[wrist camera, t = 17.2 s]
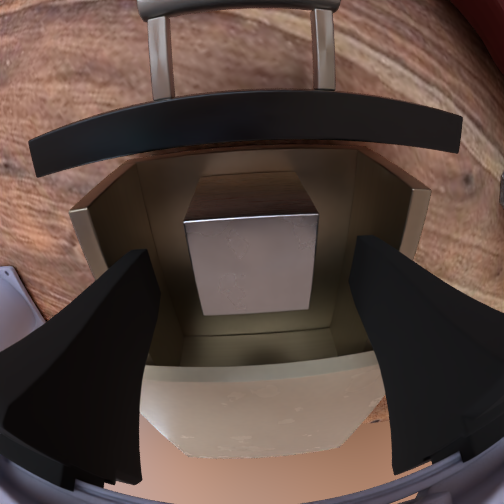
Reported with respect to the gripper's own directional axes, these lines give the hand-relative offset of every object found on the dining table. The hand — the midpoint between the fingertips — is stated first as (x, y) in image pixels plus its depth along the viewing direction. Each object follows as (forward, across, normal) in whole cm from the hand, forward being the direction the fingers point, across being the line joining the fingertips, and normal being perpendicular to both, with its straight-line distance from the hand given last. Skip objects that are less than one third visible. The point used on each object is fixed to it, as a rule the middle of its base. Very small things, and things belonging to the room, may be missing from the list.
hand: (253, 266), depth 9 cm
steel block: (+4, 0, 0) cm, 4 cm away
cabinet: (+6, 0, +12) cm, 13 cm away
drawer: (+5, 0, -1) cm, 5 cm away
